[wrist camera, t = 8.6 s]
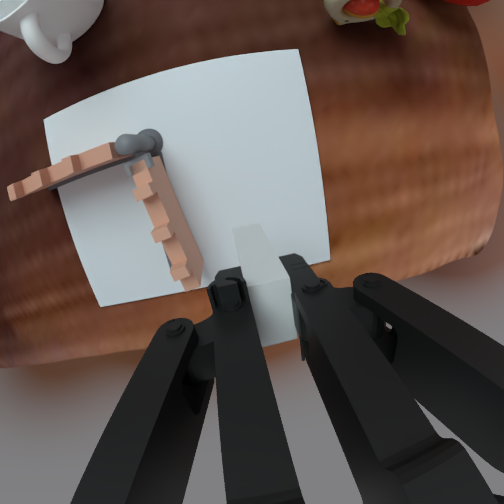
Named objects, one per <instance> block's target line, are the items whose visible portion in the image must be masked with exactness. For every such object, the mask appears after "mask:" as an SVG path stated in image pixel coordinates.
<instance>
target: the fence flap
mask: <svg viewBox="0 0 504 504" xmlns="http://www.w3.org/2000/svg"><path fill="white" fill-rule="evenodd" d="M123 165H124V168H125V170H126V173H127V175H128V178H129V177H132V176H133V179H134V181H135V184H136V186H137V188H136V189H135V190H133V191H132V192H133V194H134V197H135V199H136V201H137V202H139V201H141V200H143V203H144V205H145V207H146V210H147V212H148V214H149V216H150V219H151V221H152V223H153V225H154V229H153V230H152V232H151V235H152V237H153V239H154V241H155V243H158V242H161V243H162V245H163V247H164V249H165V251H166V253H167V255H168V257H169V259H170V261H171V263H172V266H171V269H170V274H171V276H172V278H173V280H174V282H175V281H178V280H180V282H181V283H182V285H183V287H184V289H185V291H186V292H187V291H190V290H193V289H196V288H199V287H200V286H201V278H202V270H203V262H204V260H203V258H202V256H201V253H200V251H199V249H198V247H197V244H196V242H195V240H194V237H193V235H192V233H191V231H190V228H189V226H188V224H187V221H186V219H185V217H184V214H183V212H182V210H181V207H180V205H179V202H178V200H177V198H176V195H175V193H174V190H173V188H172V185H171V183H170V181H169V178H168V176H167V173H166V171H165V168H164V166H163V163H162V161H161V158H160V156H156V157H151V154H150V153H146V154H144V155H142V156H140V157H138V158H135V159H133V160H131V161H129V162H127V163H125V164H123Z"/></svg>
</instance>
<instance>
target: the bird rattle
mask: <svg viewBox="0 0 504 504" xmlns="http://www.w3.org/2000/svg"><path fill="white" fill-rule="evenodd" d="M401 2H402V0H324V6H325V9H326V11H327V13H328V14H329V16H330V17H331V18H333V20H334V22H335V23H336V24H337V25H343V24H346V23H355V22H363V21H368V20H372V19H376V20H375V22H376V24H377V25H379V26H380V27H382V28H385V27H392V28H393V29H394V30H395V31H396V32H397V34H399V35H406V29H405V24H406V23H407V22H408V21H409V14H408V13H407V11H405V10H404V9H402V8H400V7H398V6H399V5H400V4H401Z"/></svg>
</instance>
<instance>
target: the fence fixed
mask: <svg viewBox="0 0 504 504" xmlns="http://www.w3.org/2000/svg"><path fill="white" fill-rule="evenodd" d="M155 146H156V141H155V139H154V137H152V136H149V135H136V134H122V135H120V136H119V137H118V138H117V139H116V142H108V143H106V144H103V145H100V146H98V147H95V148H92V149H90V150H87V151H85V152H82V153H80V154H77V155H70V156H68V157H65V158H63V159H61V162H59V163H57V164H55V165H52V166H50V167H48V168H45V169H41V170H38V171H36V172H34V173H32V174H31V175H32V176H30V177H28V178H26V179H24V180H22V181H19V182H16V183H13V184H11V185H9V186H8V187H7V190H8V194H9V198H10V201H13V200H16V199H19V198H21V197H24V196H26V195H29V194H31V193H34V192H37V191H39V190H42V189H45V188H47V187H50V186H52V185H54V184H56V183H59V182H61V181H64V180H66V179H68V178H71V177H73V176H76V175H79V174H81V173H84V172H86V171H89V170H92V169H94V168H97V167H100V166H103V165H105V164H108V163H111V162H114V161H117V160H120V159H123V158H126V157H129V156H132V155H134V154H136V153H143V152H150V151H152V150H153V149H154V148H155Z"/></svg>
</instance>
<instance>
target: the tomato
mask: <svg viewBox="0 0 504 504" xmlns="http://www.w3.org/2000/svg"><path fill="white" fill-rule="evenodd" d="M444 1H446V2H449V3H453V4H458V5H463V6H478V5H480V4H483V3H485V2H488V1H489V0H444Z"/></svg>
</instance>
